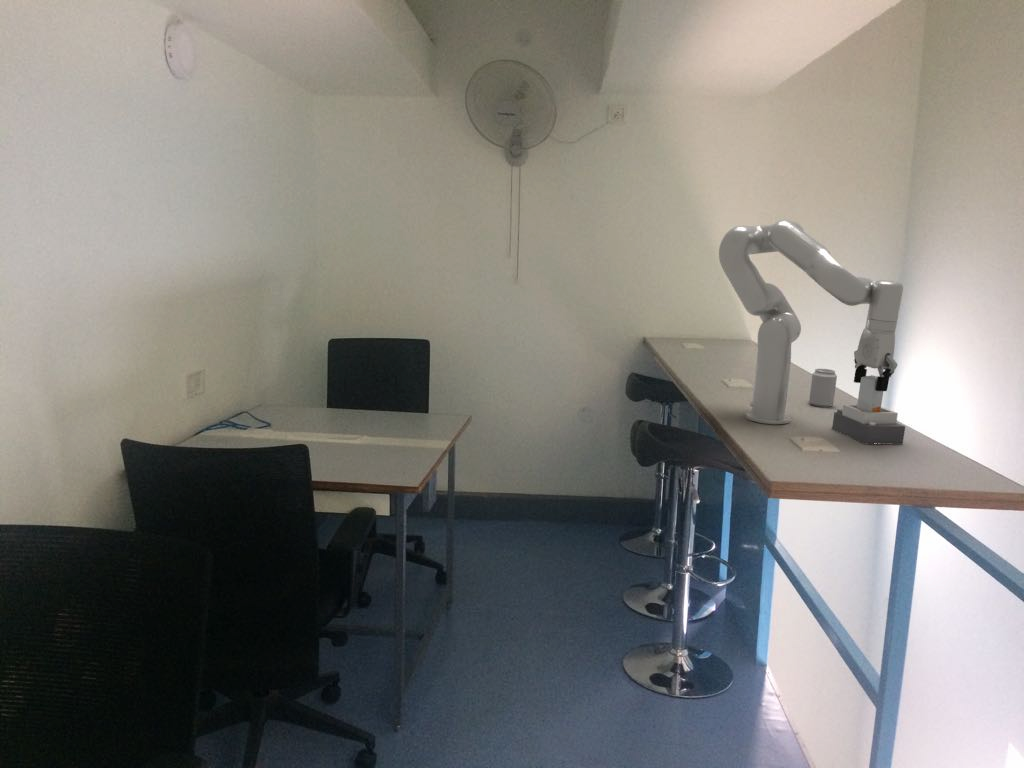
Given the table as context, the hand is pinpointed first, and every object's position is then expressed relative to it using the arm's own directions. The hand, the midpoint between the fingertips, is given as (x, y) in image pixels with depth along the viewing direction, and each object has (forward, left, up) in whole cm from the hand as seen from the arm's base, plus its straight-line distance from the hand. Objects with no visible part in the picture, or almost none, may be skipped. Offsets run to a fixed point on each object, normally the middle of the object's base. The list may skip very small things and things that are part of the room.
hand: (869, 386), depth 209 cm
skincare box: (0, 0, -9) cm, 9 cm away
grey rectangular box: (+1, +1, -14) cm, 14 cm away
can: (-36, +10, -15) cm, 40 cm away
